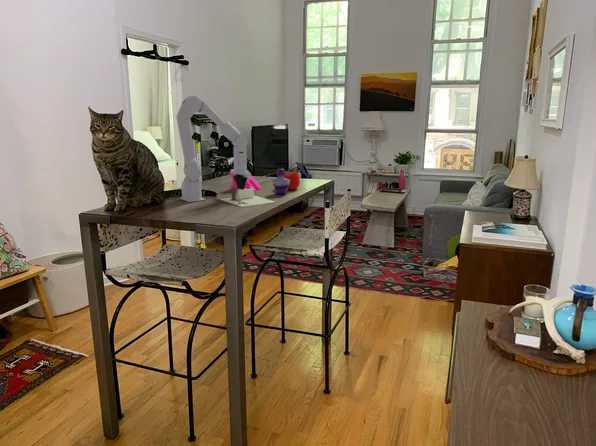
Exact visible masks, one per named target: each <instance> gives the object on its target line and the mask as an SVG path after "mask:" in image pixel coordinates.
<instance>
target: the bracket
mask: <svg viewBox="0 0 596 446" xmlns="http://www.w3.org/2000/svg"><path fill="white" fill-rule="evenodd" d="M231 170H234V168H233V169H230V178H232V180H231V181H232V182H231V183H232V184H231V185H230V189H231V188H233V187H234V188H236V192H237V190H238V188H237V185H236V182H235V180H234V178H233V176H236V175H235V174H231ZM245 188H246V189H250V188H253V189H254V192H256V191H257V190H262V189H263V187H262V186H261V184H259V182H258V181H257V180H256V179H255V178H254V177H253V175H252V174H251V177H249V178H248V179H247V181H246V184H245ZM245 188H244V189H245Z"/></svg>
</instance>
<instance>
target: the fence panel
mask: <svg viewBox="0 0 596 446" xmlns="http://www.w3.org/2000/svg"><path fill="white" fill-rule="evenodd" d="M254 195H255V191H254V189H253V188H250V189H246V188H245V189H244V190H241V189H238V190H237V191H236V197H237V199H238V198H239V197H241V198H242V199H244V198H252V197H254Z"/></svg>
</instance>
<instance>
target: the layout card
mask: <svg viewBox="0 0 596 446" xmlns="http://www.w3.org/2000/svg"><path fill="white" fill-rule="evenodd" d="M219 200H220V201H223V202H226V203H229V204H232V205H235V206H237V207H240V208H247V207H252V206H253V207H254V206H262V205H268V203H269V204H275V202H276V201H275V200H271V199H267V198H264V197H261V196H258V195H255V194H254V197H252V198H244V199H242V204H238V199H237V196H236V200H232V197H227V198H220V199H219Z"/></svg>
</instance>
